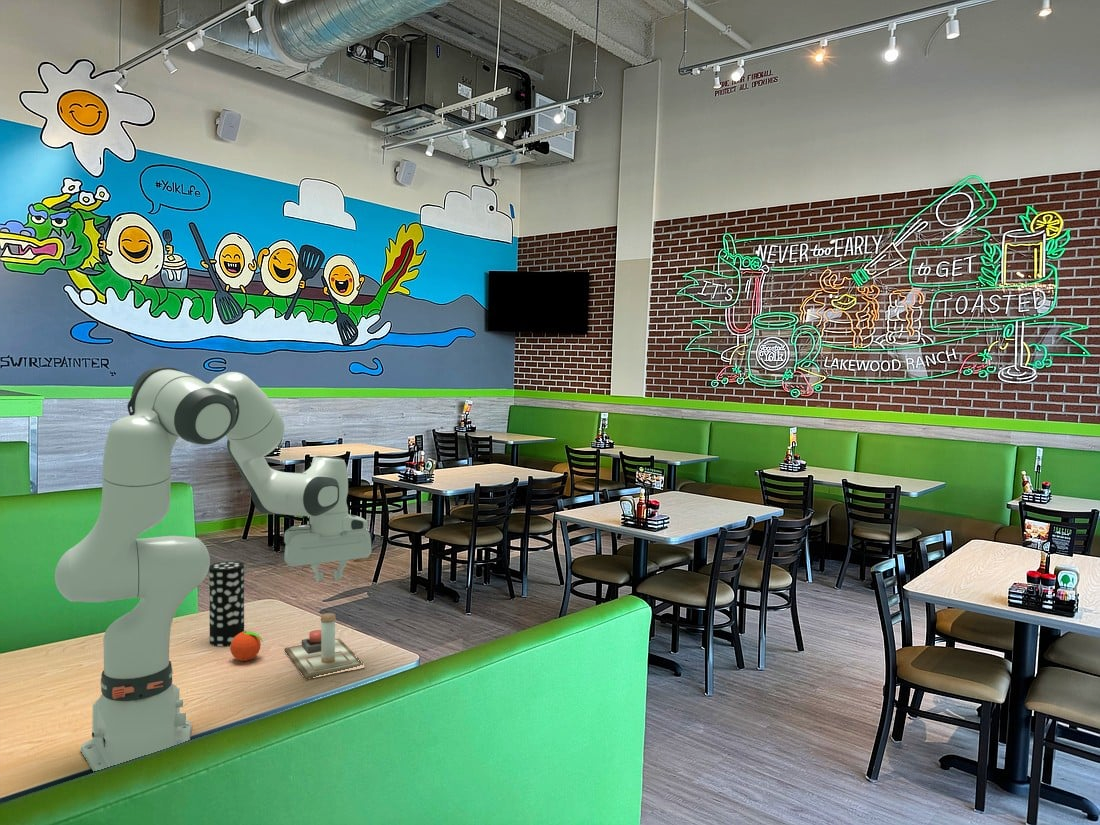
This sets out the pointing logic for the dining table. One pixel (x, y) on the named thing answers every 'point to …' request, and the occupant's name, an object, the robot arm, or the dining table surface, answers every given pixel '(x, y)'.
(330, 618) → the cylinder
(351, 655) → the board
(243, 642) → the clementine
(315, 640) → the button
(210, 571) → the spotted tube
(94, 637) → the dining table surface
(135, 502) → the robot arm
